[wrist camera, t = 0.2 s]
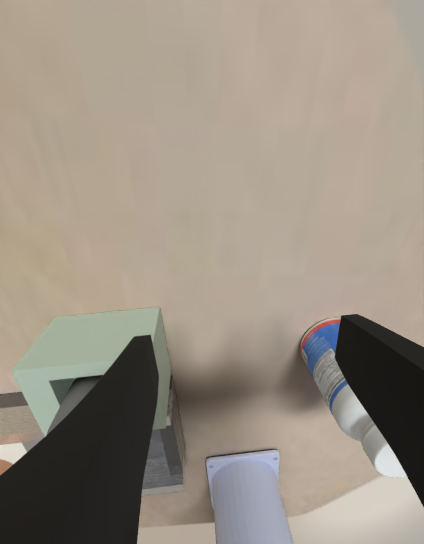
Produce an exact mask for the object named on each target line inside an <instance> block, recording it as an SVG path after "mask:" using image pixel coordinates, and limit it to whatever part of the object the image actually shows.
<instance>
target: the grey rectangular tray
mask: <svg viewBox="0 0 424 544" xmlns="http://www.w3.org/2000/svg"><path fill="white" fill-rule="evenodd" d="M44 437H45V436H44V434H43V432H42V430H41V428H40V426H39V424H38V422H37V420H36V419H35V417H34V415H33V413H32V411H31V409H30V407H29V405H28V403H27V401H26V399H25V397H24V395H23V393H22V392H18V393H9V394H0V445H5V444H13V443H22V442H31V441H39V440H40V441H41V440H42V439H43V438H44ZM184 473H185V444H184V438H183V433H182V427H181V421H180V416H179V410H178V405H177V399H176V394H175V388H174V383H173V377H172V376H170V386H169V397H168V408H167V419H166V428H163V429H155V430H152V435H151V440H150V445H149V451H148V456H147V461H146V467H145V473H144V479H143V486H142V495H141V496H146V495H154V494H162V493H170V492H178V491H184Z"/></svg>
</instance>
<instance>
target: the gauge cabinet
mask: <svg viewBox="0 0 424 544" xmlns="http://www.w3.org/2000/svg"><path fill="white" fill-rule="evenodd" d="M143 335H151V338H152V343H153V348H154V353H155V358H156V363H157V368H158V373H159V386H158V400H157V407H156V413H155V419H154V424H153V429H152V430H155V429H163V428H166V419H167V408H168V397H169V386H170V375H171V366H170V360H169V355H168V349H167V344H166V338H165V333H164V327H163V322H162V316H161V310H160V307H154V308H144V309H133V310H123V311H113V312H103V313H93V314H83V315H73V316H63V317H55V318H54V319H53V321H52V322H51V323H50V324H49V326H48V327H47V328H46V329H45V330H44V332H43V333H42V334H41V335H40V337H39V338H38V339H37V340H36V341H35V343H34V344H33V345H32V346H31V348H30V349H29V350H28V351H27V353H26V354H25V355H24V356H23V357H22V359H21V360H20V361H19V362H18V364H17V365H16V366H15V367H14V368H13V370H12V371H11V372H12V374H13V376H14V378H15V380H16V382H17V384H18V386H19V388H20V390H21V391H22V393H23V395H24V397H25V399H26V401H27V403H28V405H29V407H30V409H31V411H32V413H33V415H34V417H35V419H36V420H37V422H38V424H39V426H40V428H41V430H42V432H43V434H44V436H46V435H47V432H48V429H49V427H50V425H51V423H52V421H53V419H54V417H55V415H56V413H57V411H58V409H59V407H60V406H61V404H62V402H63V400H64V398H65V396H66V394H67V392H68V390H69V388H70V386H71V384H72V382H73V381H74V380H75V379H76V378H78V377H87V376H96V375H104V374H105V372H106V371H107V370H108V369H109V368H110V366H111V365H112V364H113V363H114V361H115V360H116V359H117V358H118V356H119V355H120V354H121V352H122V351H123V350H124V349H125V347H126V346H127V345H128V343H129V342H130V341H131V340H132V338H133V337H134V336H143Z"/></svg>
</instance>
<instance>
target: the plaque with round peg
mask: <svg viewBox="0 0 424 544" xmlns="http://www.w3.org/2000/svg"><path fill="white" fill-rule="evenodd" d="M38 442H40V440H39V441H31V442H22V443H13V444H5V445H0V475H1V474H2V473H4V472H5V471H6V470H7V469H9V468H10V467H11V466H12V465H13V464H14V463H15V462H17V461H18V460H19V459H20V458H21V457H22V456H23V455H25V454H26V453H27V452H28V451H29V450H30V449H32V448H33V447H34V446H35V445H36V444H37V443H38Z"/></svg>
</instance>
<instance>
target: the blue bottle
mask: <svg viewBox="0 0 424 544" xmlns="http://www.w3.org/2000/svg"><path fill="white" fill-rule="evenodd" d="M340 320H341V318H329V319H326V320H323V321H321V322H319V323H317V324H315V325H314V326H312V327H311V328H310V329H309V330H308V331H307V332H306V334H305V335H304V337H303V339H302V341H301V346H300V348H301V354H302V357H303V360H304V362H305V364H306V365H307V367H308V369H309V371H310V373H311V375H312V377H313V379H314V381H315V383H316V384H317V386H318V388H319V390H320V392H321V394H322V396H323V398H324V399H325V401H326V403H327V405H328V407H329V409H330V411H331V413H332V415H333V416H334V418H335V420H336V422H337V424H338V425H339V427H340V428H341V429H342V431H343V432H344V433H346V434H347V435H348V436H349V437H351V438H353V439H355V440H358V441H361V444H362V446H363V449H364V451H365V453H366V454H367V456H368V457H369V459H370V461H371V462H372V464H373V466H374V467H375V469H376V470H377V471H378V472H379V473H381V474H383V475H385V476H389V477H404V476H407V475H406V473H405V472H404V470H403V468H402V466H401V464H400V463H399V461H398V459H397V457H396V456H395V454H394V452H393V451H392V449H391V448H390V446H389V445H388V443H387V441H386V440H385V438H384V437H383V435H382V434H381V432H380V431H379V430H378V428H377V427H376V425H375V424H374V422H373V421H372V419H371V418H370V416H369V415H368V413H367V412H366V410H365V409H364V407H363V406H362V404H361V403H360V402H359V400H358V399H357V397H356V396H355V394H354V393H353V391H352V390H351V388H350V386H349V385H348V383H347V382H346V380H345V378H344V376H343V374H342V372H341V370H340V368H339V366H338V364H337V362H336V360H335V358H334V357H335V351H336V345H337V339H338V332H339V326H340Z"/></svg>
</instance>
